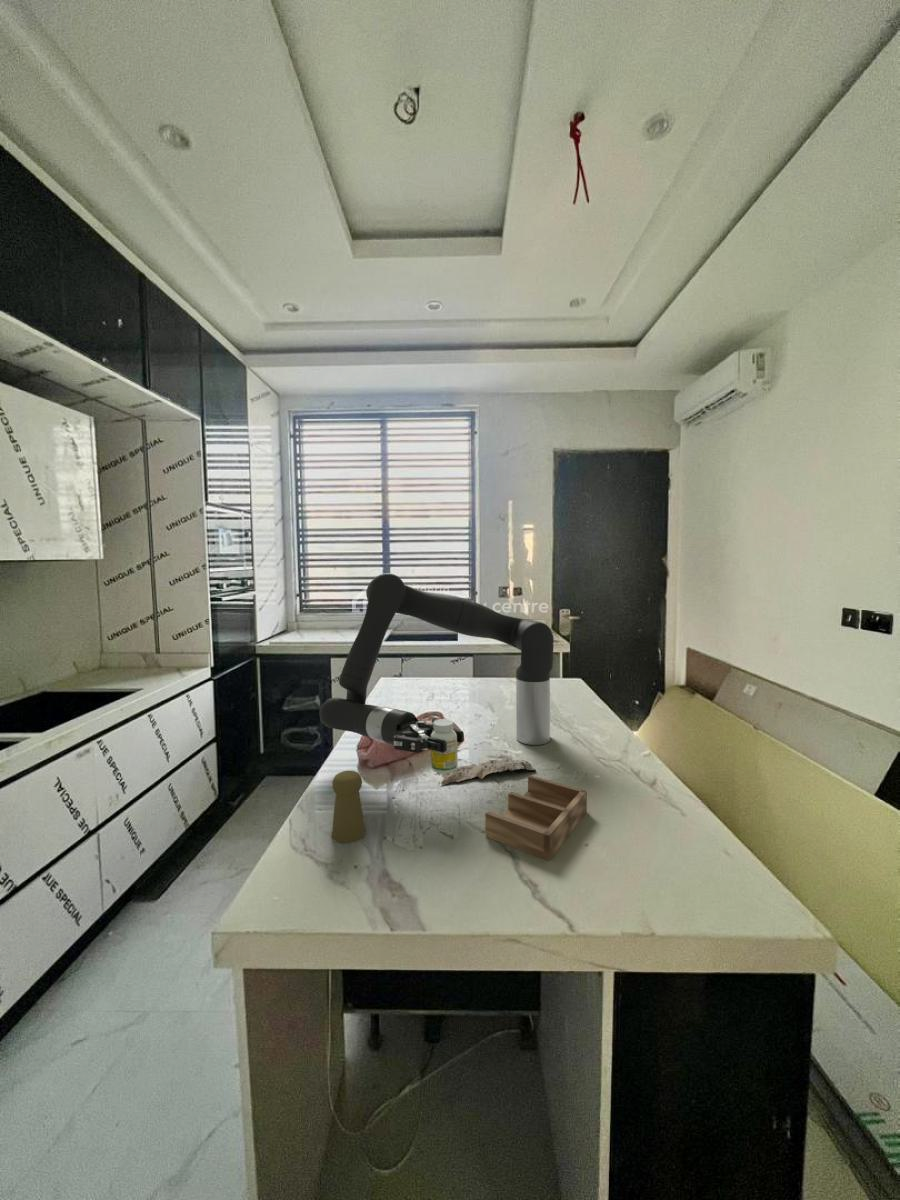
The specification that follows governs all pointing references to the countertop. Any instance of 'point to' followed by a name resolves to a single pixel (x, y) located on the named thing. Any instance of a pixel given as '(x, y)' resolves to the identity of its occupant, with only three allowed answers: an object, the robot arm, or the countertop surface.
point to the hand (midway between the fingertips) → (454, 741)
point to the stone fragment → (484, 769)
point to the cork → (347, 808)
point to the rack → (538, 817)
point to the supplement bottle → (448, 759)
